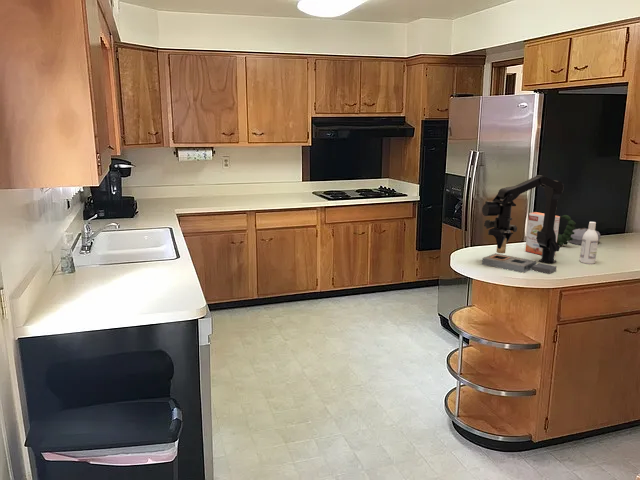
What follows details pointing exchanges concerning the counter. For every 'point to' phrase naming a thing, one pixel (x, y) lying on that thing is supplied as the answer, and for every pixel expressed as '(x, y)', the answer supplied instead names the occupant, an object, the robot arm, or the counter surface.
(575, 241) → the grey rounded bag
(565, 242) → the toy figurine
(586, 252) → the bath foam
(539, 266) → the grey square base
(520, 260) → the plate
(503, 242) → the barrel peg
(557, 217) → the cracker box
